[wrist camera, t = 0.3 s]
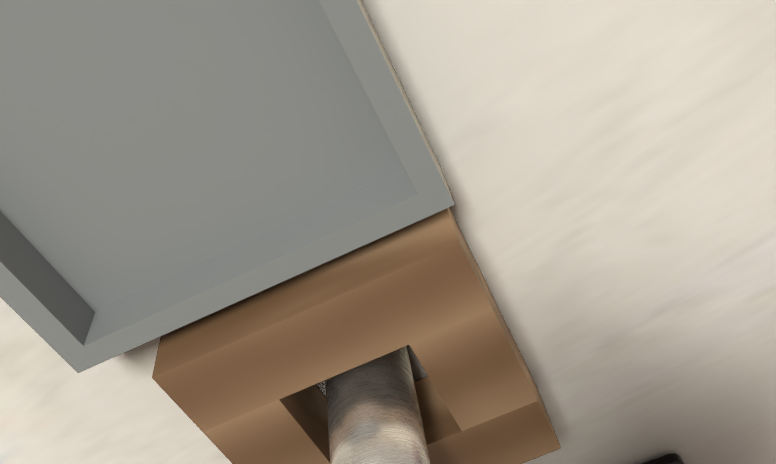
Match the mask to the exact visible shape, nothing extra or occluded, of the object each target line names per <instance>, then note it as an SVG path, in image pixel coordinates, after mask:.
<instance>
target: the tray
mask: <svg viewBox="0 0 776 464" xmlns="http://www.w3.org/2000/svg"><path fill="white" fill-rule="evenodd" d="M453 205H455V204H454V201H453V199H452V196H451V193H450V191H449V188H448V185H447V183H446V180H445V177H444V175H443V172H442V169H441V167H440V165H439V163H438V160H437V158H436V156H435V154H434V152H433V150H432V148H431V146H430V144H429V142H428V140H427V137H426V135H425V133H424V131H423V129H422V127H421V125H420V123H419V121H418V119H417V116H416V114H415V112H414V110H413V108H412V106H411V104H410V102H409V100H408V98H407V95H406V93H405V91H404V89H403V87H402V85H401V83H400V81H399V79H398V77H397V75H396V72H395V70H394V68H393V66H392V64H391V62H390V60H389V58H388V56H387V54H386V51H385V49H384V47H383V45H382V43H381V41H380V39H379V37H378V35H377V33H376V30H375V28H374V26H373V24H372V22H371V20H370V18H369V16H368V14H367V12H366V10H365V7H364V5H363V3H362V1H361V0H0V297H1V298H2V299H3V300H4V301H5V302H6V303H7V304H8V305H9V306H10V307H11V308H12V309H13V310H14V311H15V312H16V313H17V314H18V315H19V316H20V317H21V318H22V319H23V320H24V321H25V322H26V323H27V324H28V325H29V326H31V327H32V328H33V329H34V330H35V331H36V332H37V333H38V334H39V335H40V336H41V337H42V338H43V339H44V340H45V341H46V342H47V343H48V344H49V345H50V346H51V347H52V348H53V349H54V350H55V351H56V352H57V353H58V354H59V355H60V356H61V357H62V358H63V359H64V360H65V361H66V362H67V363H68V364H69V365H70V366H71V367H72V368H73V369H74V370H75V371H76V372H77V373H80V372H82V371H84V370H86V369H89V368H91V367H93V366H95V365H98V364H100V363H102V362H104V361H106V360H109V359H111V358H113V357H115V356H118V355H120V354H122V353H124V352H127V351H129V350H131V349H133V348H136V347H138V346H140V345H142V344H144V343H147V342H149V341H151V340H153V339H156V338H158V337H160V336H162V335H165V334H167V333H169V332H171V331H174V330H176V329H178V328H180V327H182V326H185V325H187V324H189V323H191V322H194V321H196V320H198V319H200V318H203V317H205V316H207V315H209V314H212V313H214V312H216V311H218V310H221V309H223V308H225V307H227V306H229V305H232V304H234V303H236V302H238V301H241V300H243V299H245V298H247V297H250V296H252V295H254V294H256V293H259V292H261V291H263V290H265V289H267V288H270V287H272V286H274V285H276V284H279V283H281V282H283V281H285V280H288V279H290V278H292V277H294V276H297V275H299V274H301V273H303V272H305V271H308V270H310V269H312V268H314V267H317V266H319V265H321V264H323V263H326V262H328V261H330V260H332V259H335V258H337V257H339V256H341V255H344V254H346V253H348V252H350V251H352V250H355V249H357V248H359V247H361V246H364V245H366V244H368V243H370V242H373V241H375V240H377V239H379V238H382V237H384V236H386V235H388V234H390V233H393V232H395V231H397V230H399V229H402V228H404V227H406V226H408V225H411V224H413V223H415V222H417V221H420V220H422V219H424V218H426V217H428V216H431V215H433V214H435V213H437V212H440V211H442V210H444V209H446V208H449V207H451V206H453Z"/></svg>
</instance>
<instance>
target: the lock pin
mask: <svg viewBox="0 0 776 464" xmlns="http://www.w3.org/2000/svg"><path fill="white" fill-rule="evenodd" d="M325 384H326V400H327V416H328V432H329V447H330V463H331V464H431V463H430V458H429V454H428V449H427V444H426V439H425V434H424V429H423V424H422V419H421V414H420V409H419V405H418V400H417V395H416V390H415V385H414V380H413V375H412V370H411V365H410V360H409V356H408V351H407V346H405V347H402V348H400V349H398V350H395V351H393V352H390V353H388V354H386V355H383V356H381V357H379V358H376V359H374V360H371V361H369V362H367V363H364V364H362V365H360V366H357V367H355V368H352V369H350V370H348V371H345V372H343V373H341V374H338V375H336V376H334V377H331V378H329V379H326V380H325Z"/></svg>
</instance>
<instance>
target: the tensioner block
mask: <svg viewBox="0 0 776 464" xmlns="http://www.w3.org/2000/svg"><path fill="white" fill-rule="evenodd" d="M407 345H410V347H411V348H412V350H413V352H414V353H415V355H416V357H417V358H418V360H419V362H420V363H421V365H422V367H423V368H424V370H425V371H426V373H427V375H428V376H427V377H425V378H422V379H420V380H418V381H415V382H414V385H415V390H416V395H417V400H418V405H419V409H420V414H421V419H422V424H423V429H424V434H425V439H426V444H427V449H428V454H429V458H430V463H431V464H522V463H524V462H527V461H529V460H532V459H535V458H537V457H540V456H542V455H545V454H547V453H550V452H553V451H555V450H558V449H560V448H561V447H560V444H559V442H558V439H557V437H556V434H555V432H554V429H553V426H552V424H551V421H550V419H549V416H548V414H547V411H546V409H545V406H544V404H543V401H542V399H541V396H540V394H539V391H538V389H537V386H536V384H535V382H534V380H533V378H532V376H531V374H530V372H529V370H528V368H527V366H526V364H525V362H524V359H523V357H522V355H521V353H520V351H519V349H518V347H517V345H516V343H515V341H514V339H513V337H512V335H511V333H510V331H509V329H508V327H507V325H506V323H505V320H504V318H503V316H502V314H501V312H500V310H499V308H498V306H497V304H496V302H495V300H494V298H493V296H492V294H491V292H490V290H489V288H488V286H487V284H486V281H485V279H484V277H483V275H482V273H481V271H480V269H479V267H478V265H477V263H476V261H475V259H474V257H473V255H472V253H471V251H470V249H469V247H468V245H467V243H466V240H465V238H464V236H463V234H462V232H461V230H460V228H459V226H458V224H457V222H456V220H455V218H454V216H453V214H452V212H451V210H450V208H446V209H444V210H442V211H440V212H437V213H435V214H433V215H431V216H428V217H426V218H424V219H422V220H420V221H417V222H415V223H413V224H411V225H408V226H406V227H404V228H402V229H399V230H397V231H395V232H393V233H390V234H388V235H386V236H384V237H382V238H379V239H377V240H375V241H373V242H370V243H368V244H366V245H364V246H361V247H359V248H357V249H355V250H352V251H350V252H348V253H346V254H344V255H341V256H339V257H337V258H335V259H332V260H330V261H328V262H326V263H323V264H321V265H319V266H317V267H314V268H312V269H310V270H308V271H305V272H303V273H301V274H299V275H297V276H294V277H292V278H290V279H288V280H285V281H283V282H281V283H279V284H276V285H274V286H272V287H270V288H267V289H265V290H263V291H261V292H259V293H256V294H254V295H252V296H250V297H247V298H245V299H243V300H241V301H238V302H236V303H234V304H232V305H229V306H227V307H225V308H223V309H221V310H218V311H216V312H214V313H212V314H209V315H207V316H205V317H203V318H200V319H198V320H196V321H194V322H191V323H189V324H187V325H185V326H182V327H180V328H178V329H176V330H174V331H171V332H169V333H167V334H165V335H162V336H161V338H160V343H159V347H158V352H157V357H156V361H155V366H154V371H153V375H152V378H153V379H154V380H155V382H156V383H157V384H158V385H159V386H160V387H161V388H162V389H163V390H164V391H165V392H166V393H167V394H168V395H169V396H170V398H171V399H172V400H173V401H174V402H175V403H176V404H177V405H178V406H179V407H180V408H181V409H182V410H183V411H184V412H185V414H186V415H187V416H188V417H189V418H190V419H191V420H192V421H193V422H194V423H195V424H196V425H197V426H198V427H199V428H200V430H201V431H202V432H203V433H204V434H205V435H206V436H207V437H208V438H209V439H210V440H211V441H212V442H213V443H214V444H215V445H216V447H217V448H218V449H219V450H220V451H221V452H222V453H223V454H224V455H225V456H226V457H227V458H228V459H229V460H230V461H231V463H232V464H331V463H330V447H329V432H328V416H327V400H326V397H325V396H324V395H323V393H322V392H321V391H320V389H319V388H318V387H317V385H316V384H317V383H319V382H322V381H324V380H326V379H329V378H331V377H334V376H336V375H338V374H341V373H343V372H345V371H348V370H350V369H352V368H355V367H357V366H360V365H362V364H364V363H367V362H369V361H371V360H374V359H376V358H379V357H381V356H383V355H386V354H388V353H390V352H393V351H395V350H398V349H400V348H402V347H405V346H407Z"/></svg>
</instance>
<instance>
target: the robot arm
mask: <svg viewBox="0 0 776 464" xmlns="http://www.w3.org/2000/svg"><path fill="white" fill-rule="evenodd" d="M645 464H684V462H683V460H682V458H681V457H680V456H679V455H677V454H669V455H666V456H663V457H661V458H658V459H655V460H653V461H650V462H647V463H645Z"/></svg>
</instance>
